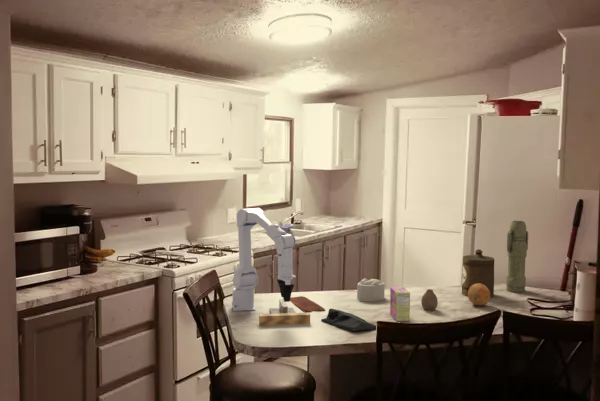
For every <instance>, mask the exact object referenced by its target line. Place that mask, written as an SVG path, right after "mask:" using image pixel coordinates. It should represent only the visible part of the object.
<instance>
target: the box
mask: <svg viewBox="0 0 600 401" xmlns="http://www.w3.org/2000/svg"><path fill="white" fill-rule="evenodd" d="M389 295H390V297H389V298H390V299H389V300H390V301H389V303H390V304H389V305H390V306H389V307H390V308H389V312H390V313H389V314H390V316H391V317H392V318H393V319H394V320H395V322H410V321H411V320H410V319H411V316H410V314H411V312H410V311H411V292H410V291H409V290H407V289H406V288H405V286H390V289H389Z"/></svg>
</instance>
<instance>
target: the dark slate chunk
mask: <svg viewBox="0 0 600 401" xmlns="http://www.w3.org/2000/svg"><path fill="white" fill-rule="evenodd" d="M321 322H324V323H327V324H329V325H332V326H334V327H339V328H341V329H343V330H346V331H350V332H354V331H355V332H361V331H373V330H374V331H375V330H377V329H376V326H377V325H376V324H373V323H370V322H368V321H367V320H366V319H364V318H362V317H359V316H357V315H355V314H353V313H349V312H346V311H343V310H340V309H336V308H335V309H334V308H329V309H328V313H327V315H326V317H325V318H321Z"/></svg>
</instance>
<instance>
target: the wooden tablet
mask: <svg viewBox="0 0 600 401" xmlns="http://www.w3.org/2000/svg"><path fill="white" fill-rule="evenodd" d="M290 302H291V303H292V304H293V305H296V306H297V308H299V309H300V310H301V311H302V312H303V313H312V312H315V313H317V312H318V313H321V312H325V311H326V309H325V308H324V307H323V306H321V305H319V304H318V303H317V302H315V301H313V300H311V299H309V298H308V297H306V296H304V295H303V296H302V295H301V296H294V297H292V296H291V298H290Z"/></svg>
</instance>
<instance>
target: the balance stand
mask: <svg viewBox="0 0 600 401" xmlns="http://www.w3.org/2000/svg"><path fill="white" fill-rule="evenodd" d="M278 305H279V307H274V308H273V307H272V308H270V307H269V314H279V313H296V310H295V309H294V308H293V307H288V305H287V302H284V299H278Z"/></svg>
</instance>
